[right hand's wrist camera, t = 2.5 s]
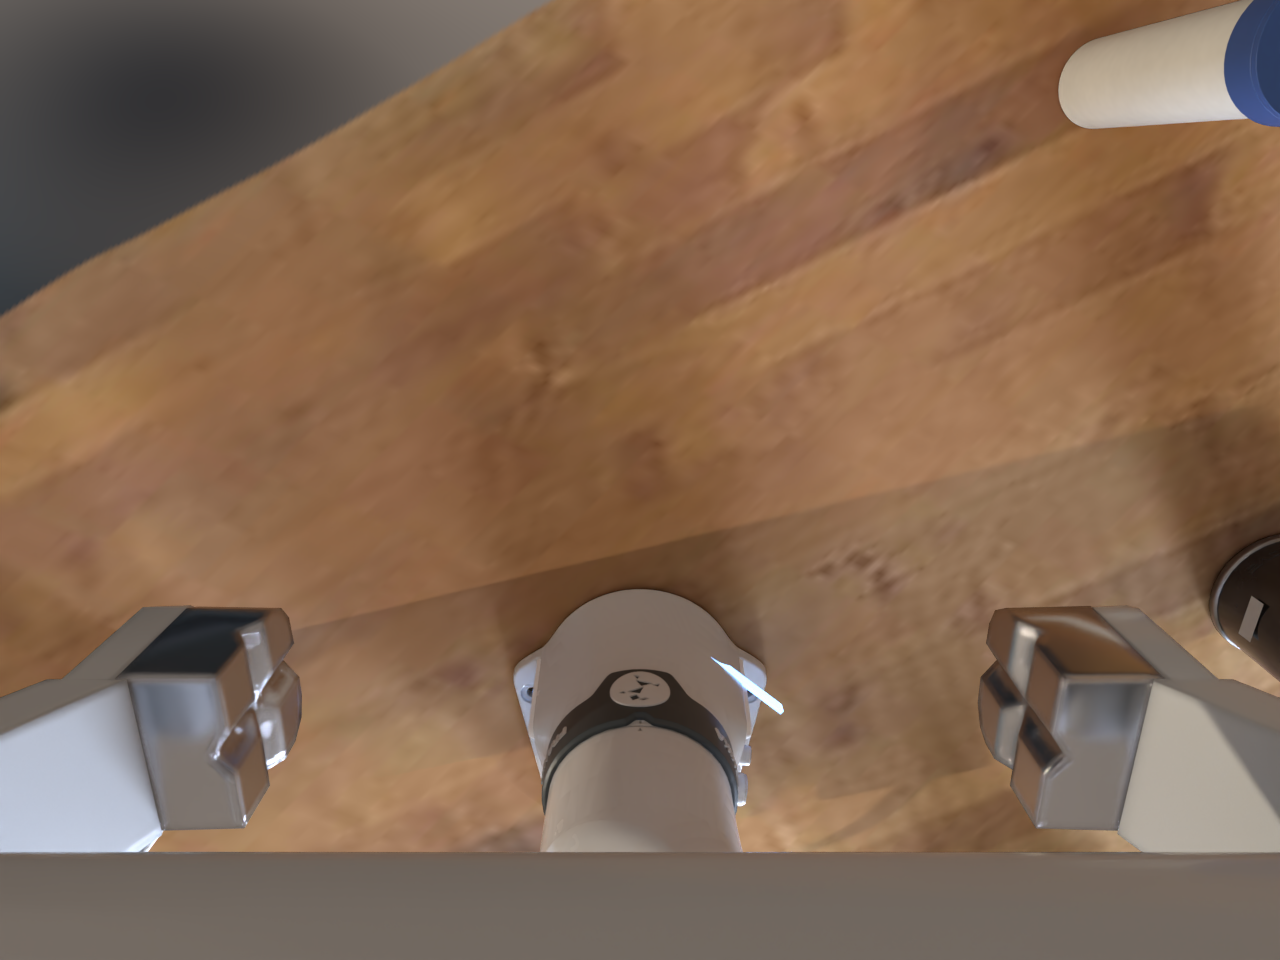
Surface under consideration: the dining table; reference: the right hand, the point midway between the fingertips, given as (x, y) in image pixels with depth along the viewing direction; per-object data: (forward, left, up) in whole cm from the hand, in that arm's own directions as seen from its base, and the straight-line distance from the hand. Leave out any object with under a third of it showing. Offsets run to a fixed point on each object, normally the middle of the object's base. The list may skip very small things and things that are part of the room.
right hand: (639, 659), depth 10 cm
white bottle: (+10, -27, -48) cm, 56 cm away
